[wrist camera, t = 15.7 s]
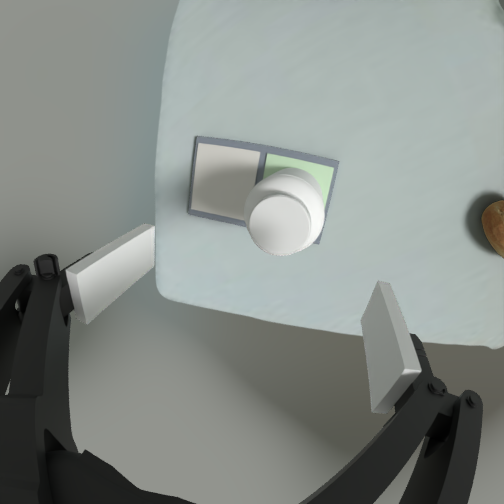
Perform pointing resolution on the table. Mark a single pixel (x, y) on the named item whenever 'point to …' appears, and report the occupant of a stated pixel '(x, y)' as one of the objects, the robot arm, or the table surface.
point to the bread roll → (494, 225)
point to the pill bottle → (285, 212)
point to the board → (246, 176)
